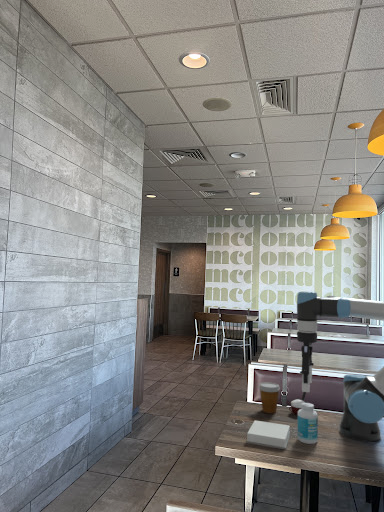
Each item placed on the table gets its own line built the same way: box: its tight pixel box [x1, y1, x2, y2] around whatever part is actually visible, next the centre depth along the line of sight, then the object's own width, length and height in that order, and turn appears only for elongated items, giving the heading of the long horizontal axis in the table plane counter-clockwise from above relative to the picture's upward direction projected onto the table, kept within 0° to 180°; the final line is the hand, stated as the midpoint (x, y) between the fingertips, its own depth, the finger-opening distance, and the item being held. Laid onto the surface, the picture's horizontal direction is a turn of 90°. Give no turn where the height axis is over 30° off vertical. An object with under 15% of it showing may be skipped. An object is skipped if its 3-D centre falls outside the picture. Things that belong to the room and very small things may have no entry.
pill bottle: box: [297, 402, 319, 445], centre depth 145 cm, size 8×7×14 cm
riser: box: [246, 420, 291, 450], centre depth 146 cm, size 14×14×4 cm
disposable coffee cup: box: [258, 381, 281, 414], centre depth 177 cm, size 10×10×12 cm
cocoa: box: [288, 392, 307, 416], centre depth 174 cm, size 10×6×12 cm, turn 86°
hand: (307, 386), depth 146 cm, fingers open, 13 cm apart
